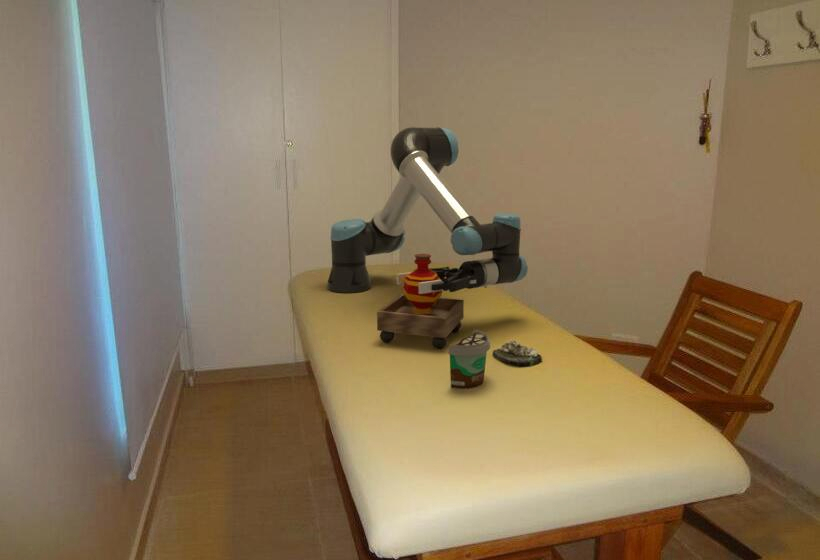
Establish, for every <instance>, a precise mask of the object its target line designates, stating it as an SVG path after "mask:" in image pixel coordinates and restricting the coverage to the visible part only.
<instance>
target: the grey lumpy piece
mask: <svg viewBox="0 0 820 560" xmlns="http://www.w3.org/2000/svg"><path fill="white" fill-rule="evenodd" d="M492 357H493V358H494V359H496V360H497V361H499V362H500V363H502V364H504V365H507V366H510V367H516V368H529V367H530V368H531V367H535V366H536V365H539V364H542V363H543V359H542V358H543V357H542V355H541V354H539V353H538V351H537V350H536V349H534V348H533V347H527V346H526V345H521V343H519V342H516V339H511V340H509V342H505V343H504V344H502V346H501V347H500V348H498V349H494V350H493V351H492Z"/></svg>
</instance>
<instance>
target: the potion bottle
mask: <svg viewBox="0 0 820 560" xmlns="http://www.w3.org/2000/svg"><path fill="white" fill-rule="evenodd" d="M414 257H415V259H414V264H415V265H416V266H417V267H416V268H415V269H413V271H410V272H411V273H409V272H408V273H409V274H408V275H407V277H404V279H403V281H404V284H402V287H401V289H402V292H403V293H402V294H404V295H405V296H406V298H407V299H408V300H409V301H410V302H411V303H412V304H413V305H414V306H415V308H414V309H413V312H414V313H416V314H430V313H431V312H433V311H432V310H431V308H430V307H432V306H433V305H434V304H435V303H436V301H437V300H438V298H441V296H442V293H443V290H442V291H436V292H430V293H423V294H419V283H421V282H428V281H435V280H440V278H439V277H438V276H437V273H436V272H434V271H432V270H431V269H430V270H431V271H430V270H429V265H431V263H432V260H431V254H429V253H418V254H414Z"/></svg>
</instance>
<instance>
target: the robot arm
mask: <svg viewBox="0 0 820 560" xmlns="http://www.w3.org/2000/svg"><path fill="white" fill-rule="evenodd" d="M458 157H459V143H458V139H457V136H456V135H455V133H454V132H453V131H452V130H450V129H449V128H445V127H440V126H436V127H407V128H406V127H405V128H404V129H402V130H401V131H398V133H397V134H396V135H395V136H394V138H393V140H392V142H391V145H390V158H391V161H392V164H393V165H394V167H395V169H396V171H398V173H399V174H400V178H399V179H398V181H397V183H396V185H395V186H394V188H393V190H392V191H391V193H390V196H389V197H388V199H387V201H386V202H385V204H384V206H383V207H382V210H379V211H377V212H375V214H374V215H373V217H372V218H371V220H370V221H367V222H366V221H365V220H364V219H361V218H352V219H351V218H349V219H343V220H340V221H337V222H335V223H333V225H332V226H331V228H330V229H331V230H330V242H331V243H330V244H331V247H330V248H331V249H330V250H331V268H330V273H329V276H328V280H327V290H328V291H331V292H334V293H339V294H340V293H344V294H345V293H346V294H347V293H349V294H350V293H353V294H355V293H362V292H365V291H368V290H370V289H371V288H372V281H371V277H370V274H369V271H368V268H367V265H366V264H367V263H366V261H367V260H366V259H367V258H366V257H367V256H375V255H381V254H390V253H393V252H396V251H398V250H400V248H401V247H402V246H403V244H404V243H405V239H406V237H405V235H406V231H405V224H404V222H405V221H406V219H407V218H408V216H409V214H410V213H411V211H412V209H413V208H414V206H415V205H416V203H417V202H418V200H419V198H420V197H421V196H422V198H423V199H424V200H425V202H426V203H427V204H428V206H429V207H430V208H431V209H432V210H433V212H434V213H435V215H436V216H437V217H438V218H439V219H440V221H441V222H442V223H443V225H445V227H446V228H447V230H448V231H449V232H450V233H451V236H450V244H451V247H452V250H453V251H454V253H456V254H457V255H460V256H475V255H477V254H481V253H488V252H491V253H492V255H491V256H492V257H491V258H490V257H489V258H480V259H475V260H467V261H464V262H462V263H461V264H460V265H459V268H458V267H453V268H450V267H449V266H445V267H443V266H442V267H433V268H431V267H430V268H429V267H428V268H429V270H430V269H431V270H432V271H434V272H436V273H437V276H438V277H439V278H440V280H435V281H428V282H421V283H419V294H423V293H430V292H436V291H442V292H443V291H444V292H447V291H448V292H449V293H453V292H454V293H455V292H457V291H461V290H464V289H468V290H472V289H477V288H482V287H483V288H485V289H487V288H488V286H494V285H495V286H496V285H501V284H503V285H504V284H511V283H515V282H519V281H522V280H523V279H525V278H526V276H527V274H528V269H529V268H528V264H527V260H526V258H525V257H524V256H522V255H520V244H521V243H520V242H521V231H522V229H521V217H520V216H519V215H518V214H515V213H497V214H494V215H493V220H492V222H490V223H482V224H481V223H480V222H479V221H478V220H477V219H476V218H475V217H474V215H473V214H472V212H470V210H469V208H467V207H466V206H465V204H464V203H463V202H462V201H461V200H460V198H459V197H458V195H456V193H455V191H453V190H452V188H451V187H450V186H449V185H448V183H447V182H446V181H445V179H443V177H442V176H441V175H440V173H441V171H442V170H443V168H444V167H450V166H451V165H454V164H455V162H456V161H457V159H458ZM431 270H430V271H431ZM411 272H412V271H410V272H404V273H403V272H402V273H396V285H399V286H400V285H404V281H403V279H404V277H407V275H408V274H409V273H411Z"/></svg>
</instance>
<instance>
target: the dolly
mask: <svg viewBox="0 0 820 560" xmlns="http://www.w3.org/2000/svg"><path fill="white" fill-rule="evenodd" d="M464 303H465V300H464V299H456V298H447V297H439V298H438V300H437V301H436V303H435V304H434V305H433V306H432V307H430V308H431V310H432V311H433V312H431V313H430V314H416V313H414V312H413V309H414V308H415V306H414V305H413V304H412V303H411V302H410V301H409V300H408V299H407V298H406V296H405V295H404V293H402V294H399V295H397V297H396V298H394V299H392V300H391V301H390V302H389V303H387V304H386V305H384V306H383V307H382V308H380V309H378V310H377V312H376V319H377V320H376V323H377V324H376V326H377V327H376V330H377V331H380V334H379V338H380V340H381V342H383V343H384V344H390V343H391V342H393V341H394V339H395V338H396V333H397V334H406V335H412V336H413V335H415V336H422V337H431V338H432V339H431V344H432V346H433V348H434V349H436V350H443V349H444V348H446V346H447V345H448V338H447V337H448V336H449V335H450V334H451V333H457V332H459V331H460V330H461V329H462V322H461V321H462V320H463V319H464V311H465V309H464V307H465V305H464Z"/></svg>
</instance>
